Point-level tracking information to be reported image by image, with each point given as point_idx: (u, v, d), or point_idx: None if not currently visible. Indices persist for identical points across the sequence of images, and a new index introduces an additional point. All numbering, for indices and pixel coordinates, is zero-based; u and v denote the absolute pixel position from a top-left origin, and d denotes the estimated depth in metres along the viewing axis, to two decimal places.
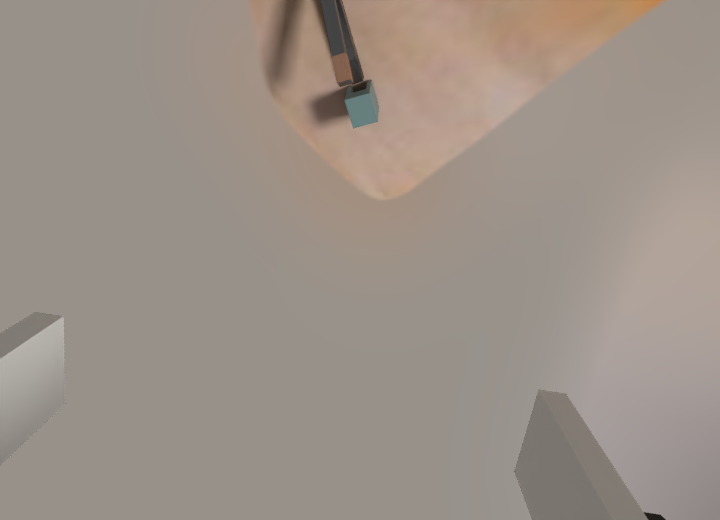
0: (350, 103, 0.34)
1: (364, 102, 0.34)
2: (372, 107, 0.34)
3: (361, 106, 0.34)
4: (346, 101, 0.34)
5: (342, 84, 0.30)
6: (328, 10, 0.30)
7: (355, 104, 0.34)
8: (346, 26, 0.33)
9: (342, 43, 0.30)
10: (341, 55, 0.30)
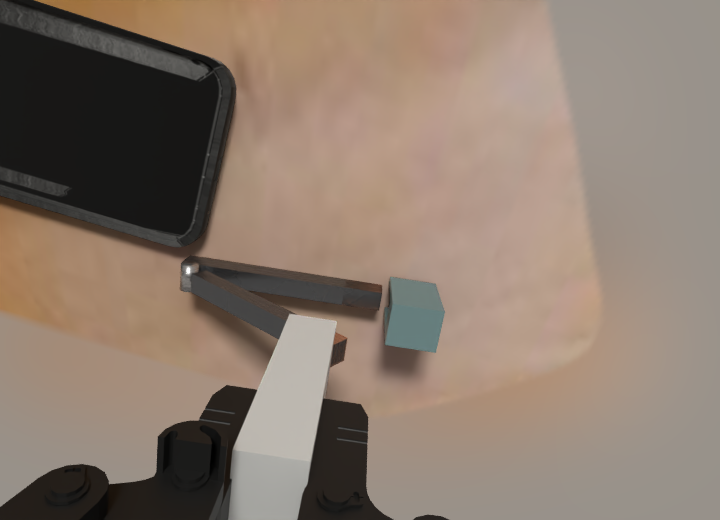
0: (394, 338, 0.19)
1: (403, 317, 0.19)
2: (417, 309, 0.19)
3: (407, 324, 0.19)
4: (388, 342, 0.20)
5: (339, 357, 0.17)
6: (242, 310, 0.19)
7: (399, 332, 0.19)
8: (296, 281, 0.21)
9: (285, 320, 0.17)
10: None
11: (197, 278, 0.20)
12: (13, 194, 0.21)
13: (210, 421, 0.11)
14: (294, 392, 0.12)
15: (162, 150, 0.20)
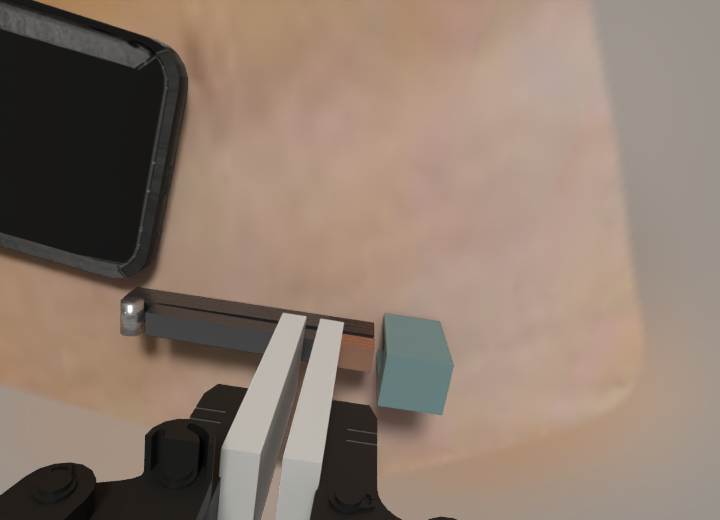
0: (389, 397, 0.15)
1: (401, 372, 0.15)
2: (419, 362, 0.15)
3: (406, 381, 0.15)
4: (382, 403, 0.15)
5: None
6: (239, 340, 0.16)
7: (396, 390, 0.15)
8: (267, 320, 0.17)
9: (305, 338, 0.16)
10: None
11: (157, 316, 0.16)
12: None
13: (201, 420, 0.11)
14: (304, 394, 0.12)
15: (95, 157, 0.16)
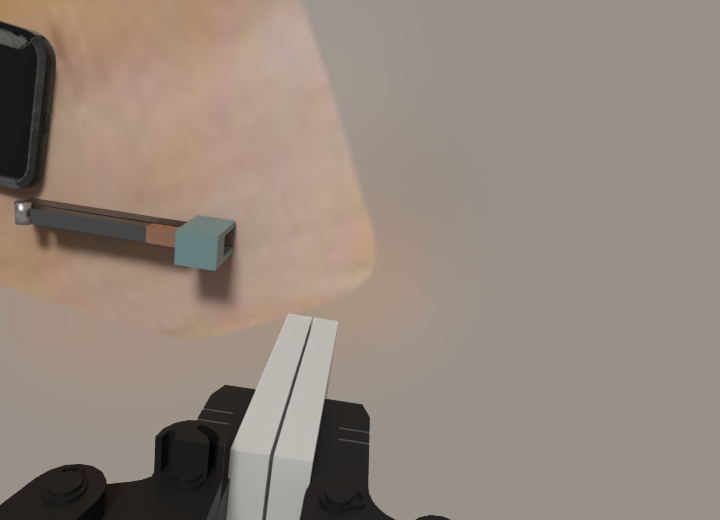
0: (181, 259, 0.24)
1: (186, 241, 0.24)
2: (196, 234, 0.24)
3: (190, 247, 0.24)
4: (176, 262, 0.24)
5: None
6: (91, 226, 0.25)
7: (184, 253, 0.24)
8: (114, 217, 0.26)
9: (134, 225, 0.25)
10: (148, 231, 0.25)
11: (37, 211, 0.25)
12: None
13: (208, 421, 0.11)
14: (296, 392, 0.12)
15: None
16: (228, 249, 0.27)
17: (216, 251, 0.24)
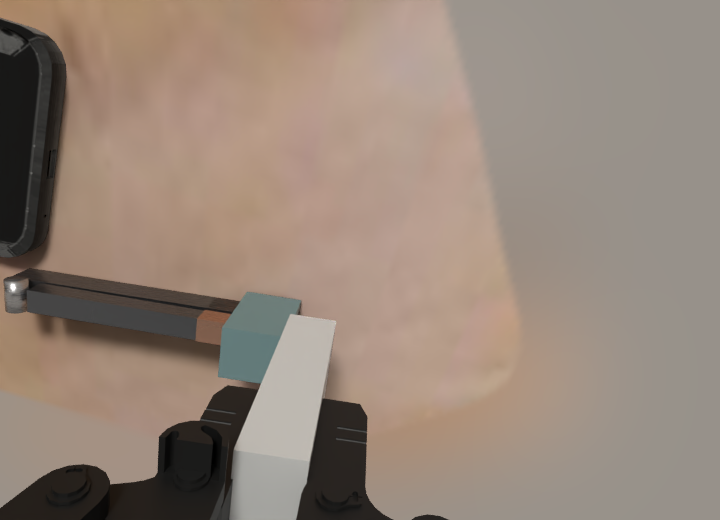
0: (229, 369, 0.16)
1: (237, 344, 0.16)
2: (253, 334, 0.16)
3: (242, 353, 0.16)
4: (222, 374, 0.16)
5: None
6: (116, 317, 0.17)
7: (234, 361, 0.16)
8: (149, 300, 0.18)
9: (180, 316, 0.17)
10: (199, 325, 0.17)
11: (37, 294, 0.17)
12: None
13: (211, 421, 0.11)
14: (293, 392, 0.12)
15: None
16: None
17: None
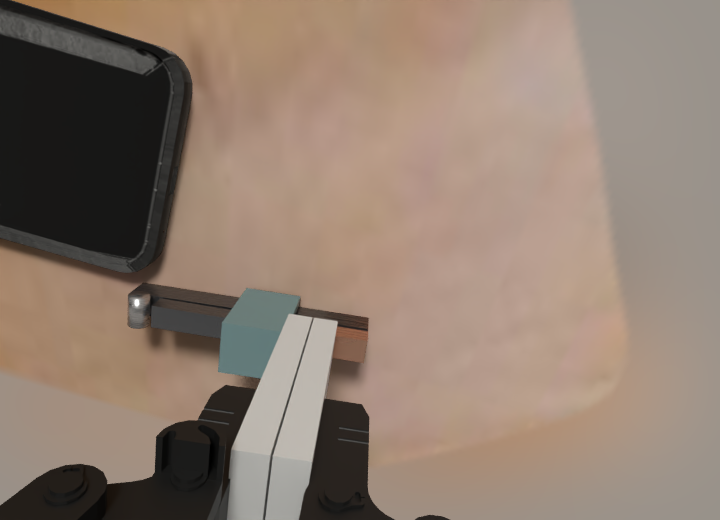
0: (229, 364, 0.16)
1: (237, 339, 0.16)
2: (253, 329, 0.16)
3: (242, 348, 0.16)
4: (222, 369, 0.16)
5: None
6: None
7: (234, 356, 0.16)
8: None
9: None
10: None
11: (162, 310, 0.17)
12: None
13: (209, 421, 0.11)
14: (295, 392, 0.12)
15: (105, 158, 0.17)
16: None
17: None
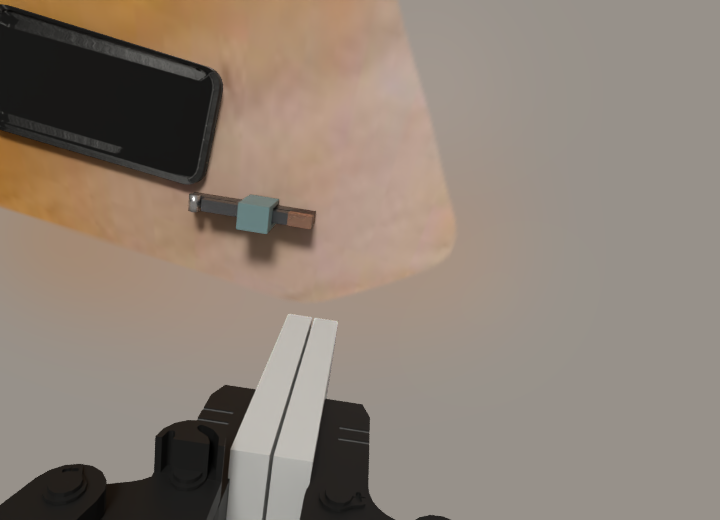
0: (241, 225, 0.32)
1: (245, 211, 0.32)
2: (253, 206, 0.32)
3: (248, 216, 0.32)
4: (238, 227, 0.32)
5: (311, 224, 0.34)
6: None
7: (244, 220, 0.32)
8: None
9: (279, 212, 0.33)
10: (289, 217, 0.33)
11: (207, 201, 0.33)
12: (87, 152, 0.34)
13: (208, 421, 0.11)
14: (296, 392, 0.12)
15: (178, 123, 0.33)
16: None
17: (267, 219, 0.32)
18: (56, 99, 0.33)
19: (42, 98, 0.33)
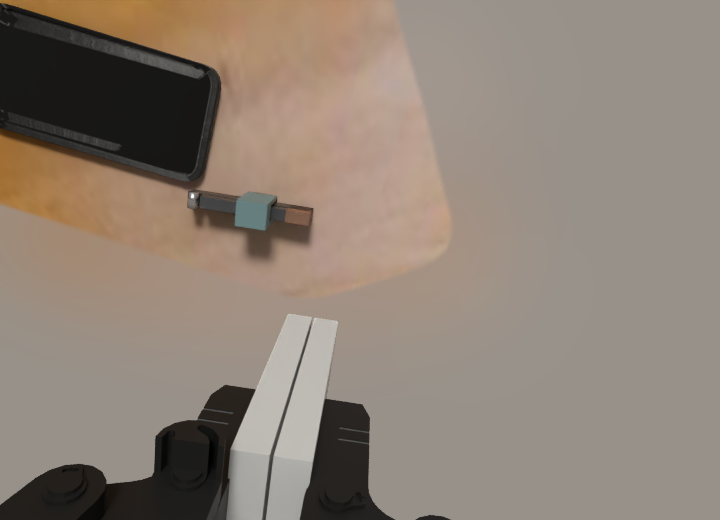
0: (239, 221, 0.33)
1: (243, 208, 0.32)
2: (251, 203, 0.32)
3: (246, 213, 0.32)
4: (236, 224, 0.33)
5: (309, 221, 0.34)
6: None
7: (242, 217, 0.33)
8: None
9: (277, 209, 0.34)
10: (287, 213, 0.34)
11: (205, 198, 0.34)
12: (87, 149, 0.34)
13: (208, 421, 0.11)
14: (296, 392, 0.12)
15: (177, 121, 0.34)
16: None
17: (265, 215, 0.33)
18: (56, 97, 0.33)
19: (41, 96, 0.33)
